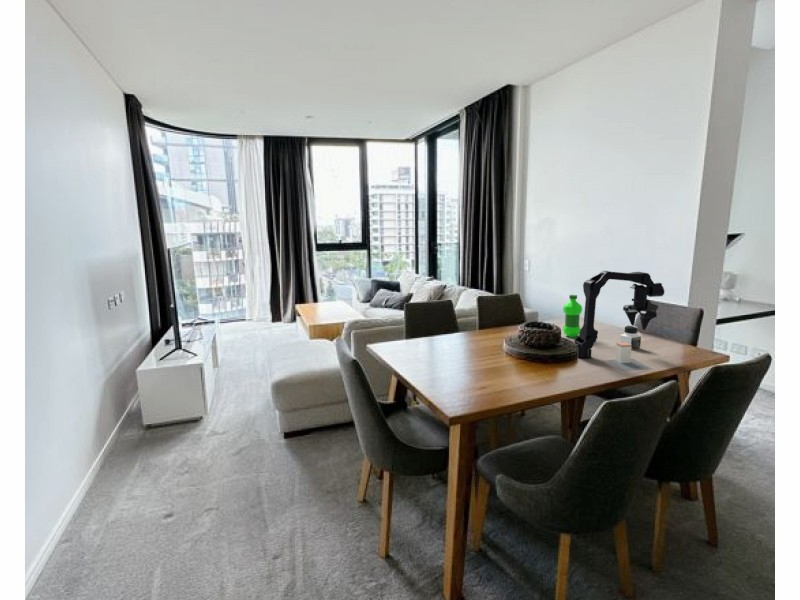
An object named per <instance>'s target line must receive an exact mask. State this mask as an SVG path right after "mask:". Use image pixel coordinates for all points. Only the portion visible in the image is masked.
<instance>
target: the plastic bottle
mask: <svg viewBox="0 0 800 600" xmlns="http://www.w3.org/2000/svg"><path fill="white" fill-rule="evenodd" d="M568 298H569V300H570V301H568V302H567V303H565V304H564V306H563V309H562V310H563V313H564V314H565V319H564V322H565V323H564V326H563V328H562V329H563V330H562V332H563V333H564V335H566V336H567V337H568V336H569V338H577V337H578V336H579V334H580V330H581V327H580V315H581V314H582V313H583V305H581V304H580V303H579V302H578V301H577V299H578V295H577V294H569V297H568Z"/></svg>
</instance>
